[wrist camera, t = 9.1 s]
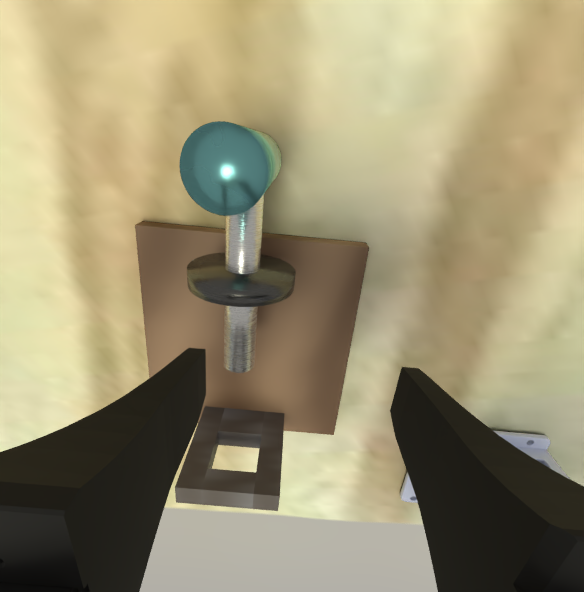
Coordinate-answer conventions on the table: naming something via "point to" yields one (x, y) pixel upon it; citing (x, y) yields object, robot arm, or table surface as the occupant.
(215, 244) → the eye stand
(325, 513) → the table surface
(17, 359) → the table surface
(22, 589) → the robot arm
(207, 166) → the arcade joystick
